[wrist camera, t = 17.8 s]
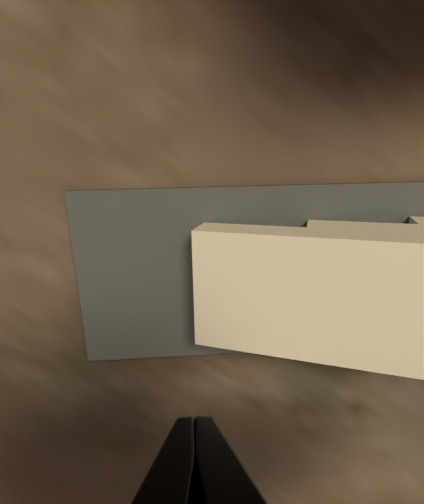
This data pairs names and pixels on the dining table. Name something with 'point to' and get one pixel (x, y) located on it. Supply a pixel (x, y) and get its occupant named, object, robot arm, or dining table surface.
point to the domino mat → (188, 251)
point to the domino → (312, 295)
